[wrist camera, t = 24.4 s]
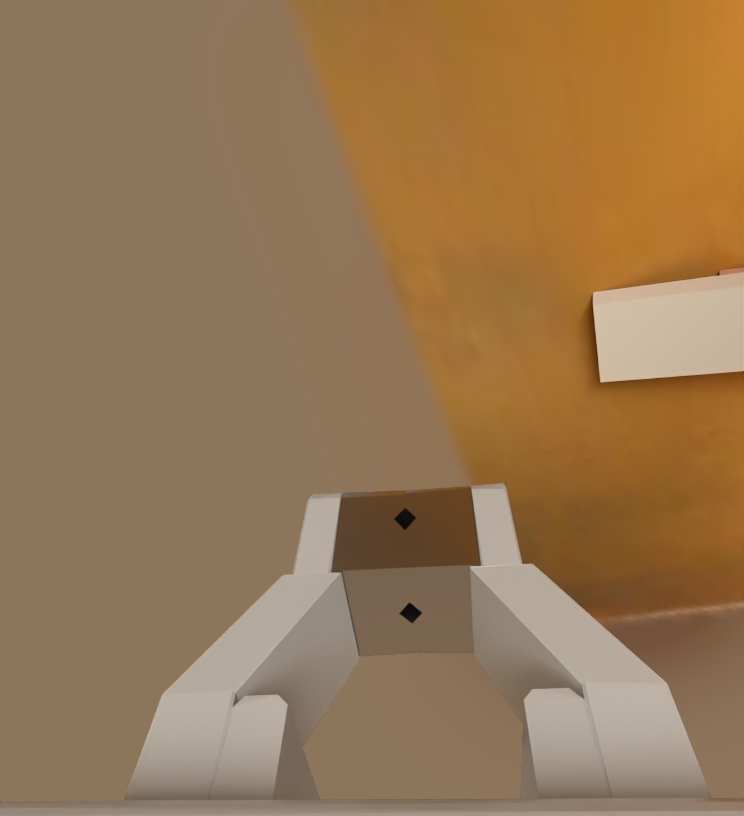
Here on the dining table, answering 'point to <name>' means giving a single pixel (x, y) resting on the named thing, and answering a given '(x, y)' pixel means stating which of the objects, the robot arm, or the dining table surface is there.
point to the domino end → (671, 328)
